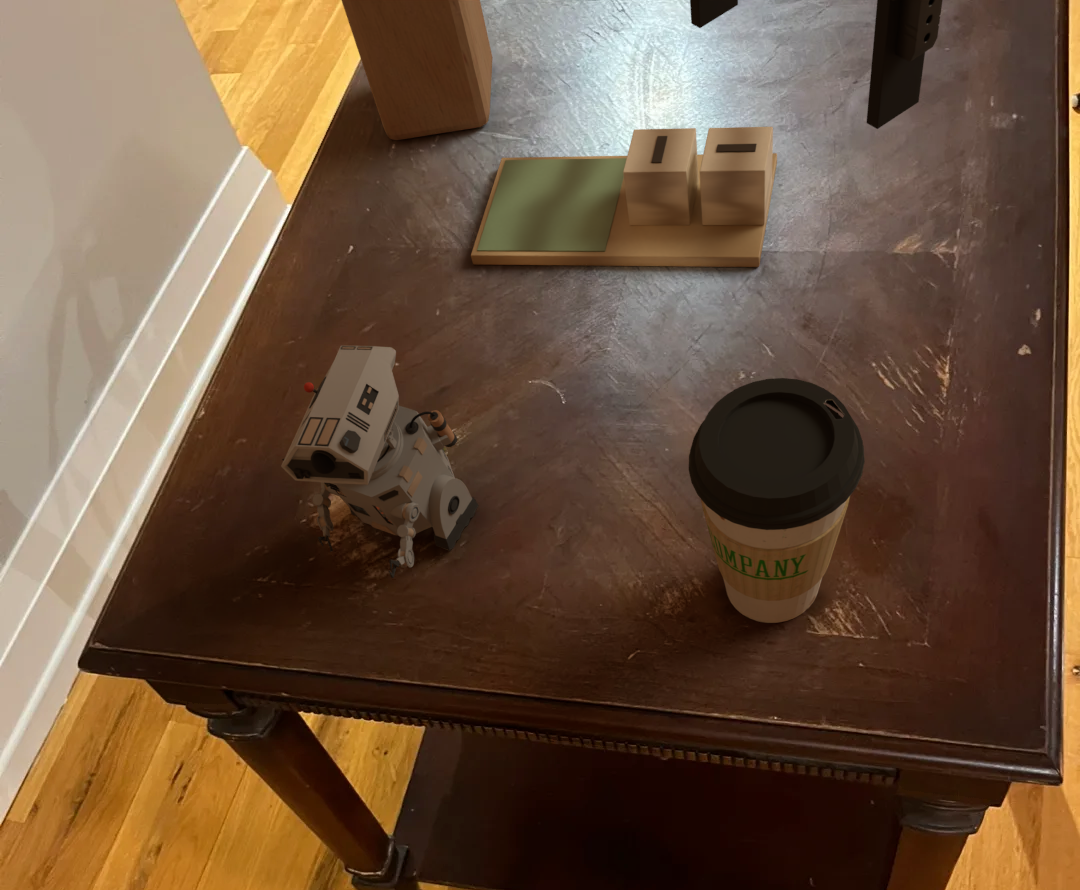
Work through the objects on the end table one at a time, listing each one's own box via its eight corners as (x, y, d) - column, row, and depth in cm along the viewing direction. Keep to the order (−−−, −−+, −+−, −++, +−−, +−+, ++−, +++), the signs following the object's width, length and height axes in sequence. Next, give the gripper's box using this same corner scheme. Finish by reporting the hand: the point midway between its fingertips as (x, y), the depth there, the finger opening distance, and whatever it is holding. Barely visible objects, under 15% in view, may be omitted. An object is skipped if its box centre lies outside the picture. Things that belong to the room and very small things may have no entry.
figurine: (313, 576, 81) (226, 444, 68) (392, 460, 84) (324, 312, 71) (414, 617, 78) (344, 486, 64) (492, 494, 81) (440, 346, 68)
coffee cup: (674, 561, 76) (656, 414, 63) (800, 502, 76) (810, 343, 63) (741, 670, 71) (738, 537, 58) (875, 607, 72) (903, 460, 58)
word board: (777, 163, 91) (778, 94, 86) (759, 267, 87) (759, 201, 81) (503, 167, 97) (489, 103, 92) (472, 264, 92) (455, 203, 87)
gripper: (532, -531, 44) (599, 10, 63) (1010, -430, 32) (920, 201, 51) (677, -604, 45) (701, -52, 64) (1191, -533, 33) (1038, 121, 52)
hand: (798, 61), depth 57 cm, fingers open, 13 cm apart
